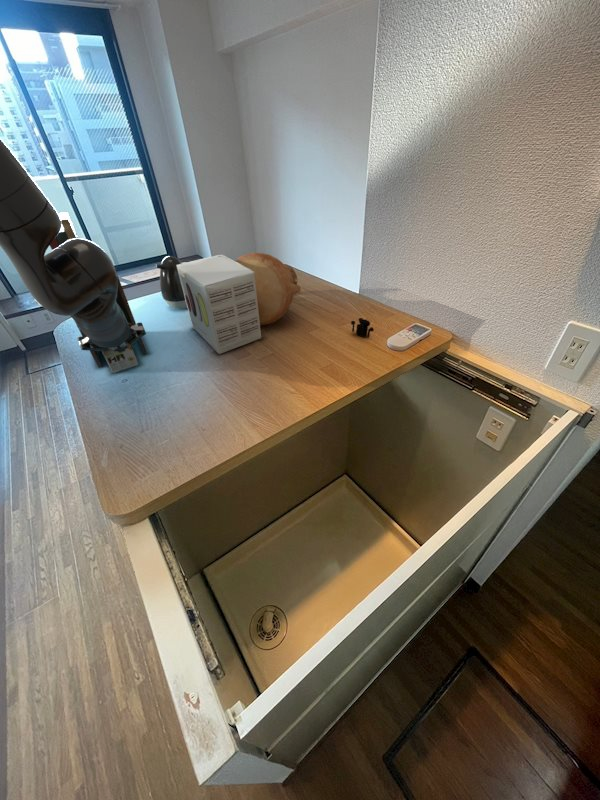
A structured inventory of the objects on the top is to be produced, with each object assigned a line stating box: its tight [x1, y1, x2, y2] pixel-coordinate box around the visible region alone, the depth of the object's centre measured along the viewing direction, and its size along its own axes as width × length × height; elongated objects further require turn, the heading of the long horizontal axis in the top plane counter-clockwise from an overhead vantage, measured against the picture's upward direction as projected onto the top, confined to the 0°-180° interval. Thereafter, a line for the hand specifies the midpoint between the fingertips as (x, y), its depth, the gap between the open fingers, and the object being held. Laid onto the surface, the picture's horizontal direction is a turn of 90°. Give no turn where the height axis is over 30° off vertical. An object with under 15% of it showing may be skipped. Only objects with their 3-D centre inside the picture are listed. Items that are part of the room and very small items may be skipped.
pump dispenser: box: [155, 255, 188, 310], centre depth 100 cm, size 10×10×15 cm
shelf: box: [49, 211, 148, 368], centre depth 76 cm, size 12×13×31 cm
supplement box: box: [176, 254, 262, 355], centre depth 85 cm, size 17×13×18 cm
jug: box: [234, 252, 301, 326], centre depth 96 cm, size 20×19×30 cm
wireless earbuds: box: [350, 317, 375, 339], centre depth 88 cm, size 7×2×5 cm, turn 50°
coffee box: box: [101, 343, 139, 374], centre depth 76 cm, size 9×6×16 cm
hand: (120, 347), depth 75 cm, fingers closed
